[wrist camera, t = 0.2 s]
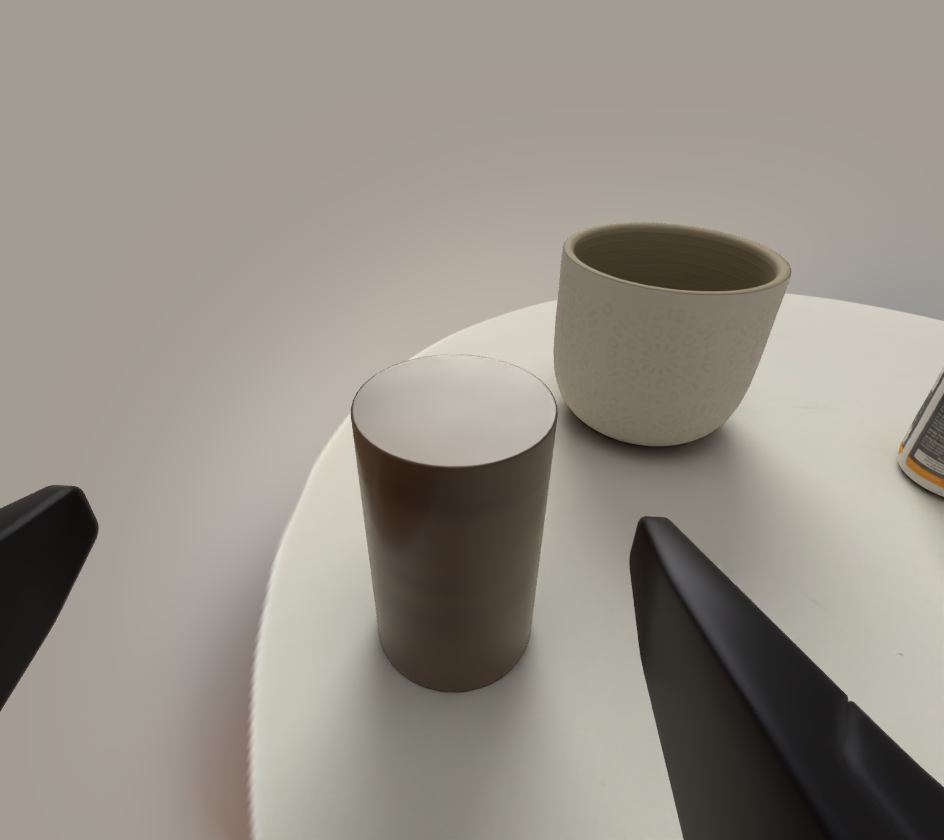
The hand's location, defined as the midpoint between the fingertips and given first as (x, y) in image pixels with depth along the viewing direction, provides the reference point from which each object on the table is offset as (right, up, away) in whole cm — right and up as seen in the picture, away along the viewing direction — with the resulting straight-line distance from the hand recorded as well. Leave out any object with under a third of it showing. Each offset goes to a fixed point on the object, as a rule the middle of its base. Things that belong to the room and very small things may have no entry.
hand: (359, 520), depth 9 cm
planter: (+13, +2, +29) cm, 32 cm away
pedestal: (+1, -7, +15) cm, 17 cm away
